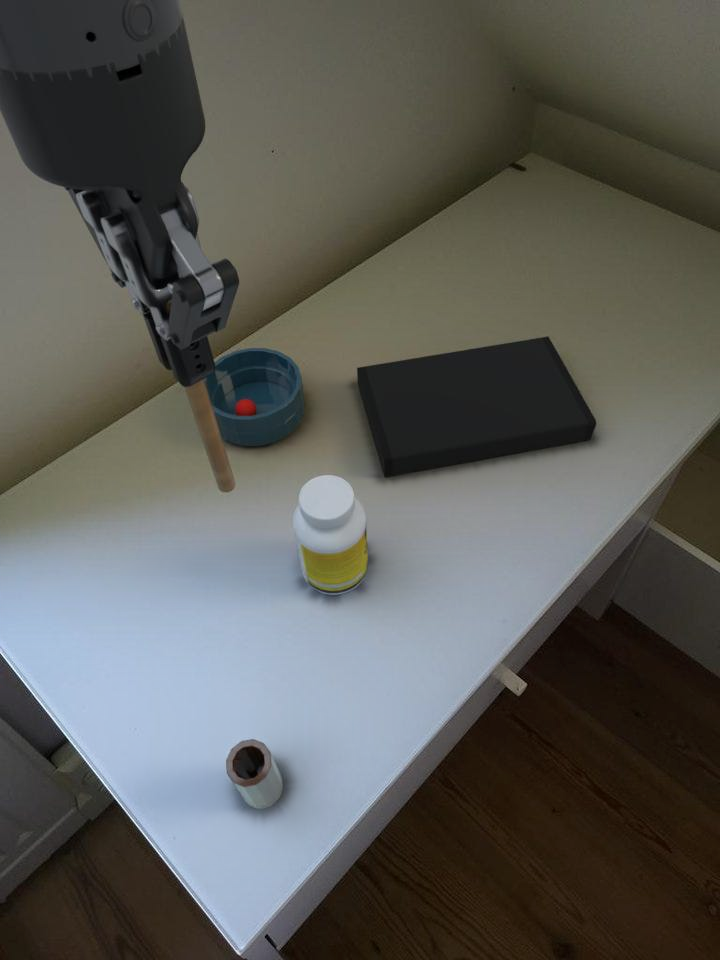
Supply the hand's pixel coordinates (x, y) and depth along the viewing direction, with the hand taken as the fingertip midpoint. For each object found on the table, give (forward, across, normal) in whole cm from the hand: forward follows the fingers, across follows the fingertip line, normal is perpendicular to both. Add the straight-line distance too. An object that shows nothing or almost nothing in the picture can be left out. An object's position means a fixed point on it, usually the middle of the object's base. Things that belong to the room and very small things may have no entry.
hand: (189, 368), depth 39 cm
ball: (+30, -22, +12) cm, 39 cm away
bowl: (+31, -22, +13) cm, 41 cm away
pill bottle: (+32, 0, +8) cm, 33 cm away
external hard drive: (+32, -7, +32) cm, 46 cm away
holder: (+31, +12, -9) cm, 35 cm away
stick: (+11, 0, 0) cm, 11 cm away
